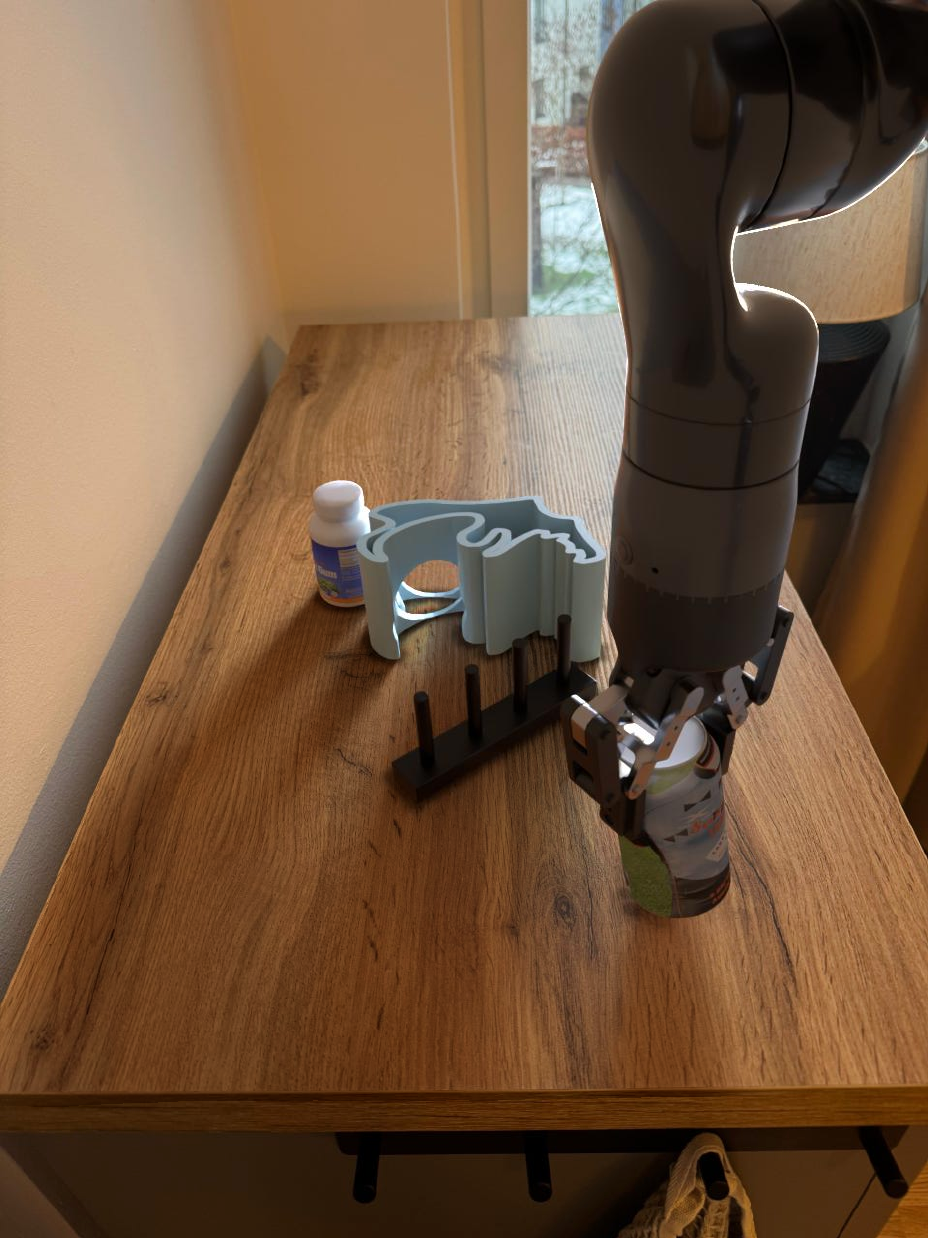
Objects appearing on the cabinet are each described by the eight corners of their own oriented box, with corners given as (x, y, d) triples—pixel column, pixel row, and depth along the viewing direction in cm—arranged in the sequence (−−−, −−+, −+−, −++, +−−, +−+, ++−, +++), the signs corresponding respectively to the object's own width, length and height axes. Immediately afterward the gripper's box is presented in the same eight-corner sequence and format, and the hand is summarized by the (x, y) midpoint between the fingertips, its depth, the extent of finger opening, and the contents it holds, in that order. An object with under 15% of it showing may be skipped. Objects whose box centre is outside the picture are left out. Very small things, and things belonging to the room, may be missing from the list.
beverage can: (721, 943, 51) (744, 793, 44) (592, 912, 53) (593, 765, 46) (734, 857, 56) (755, 709, 49) (614, 832, 58) (618, 687, 51)
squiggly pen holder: (583, 583, 78) (588, 489, 72) (602, 661, 70) (608, 562, 64) (372, 596, 78) (359, 503, 72) (367, 675, 70) (352, 577, 64)
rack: (596, 696, 67) (601, 616, 63) (417, 803, 60) (407, 723, 56) (569, 674, 69) (571, 596, 65) (392, 776, 62) (381, 697, 58)
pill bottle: (309, 584, 80) (291, 488, 74) (365, 564, 82) (352, 468, 76) (335, 617, 76) (318, 518, 70) (393, 595, 78) (381, 497, 72)
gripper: (642, 652, 34) (619, 915, 45) (873, 516, 41) (807, 774, 51) (515, 565, 39) (521, 821, 50) (739, 456, 46) (703, 702, 56)
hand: (666, 796), depth 50 cm, fingers closed on beverage can, 6 cm apart
